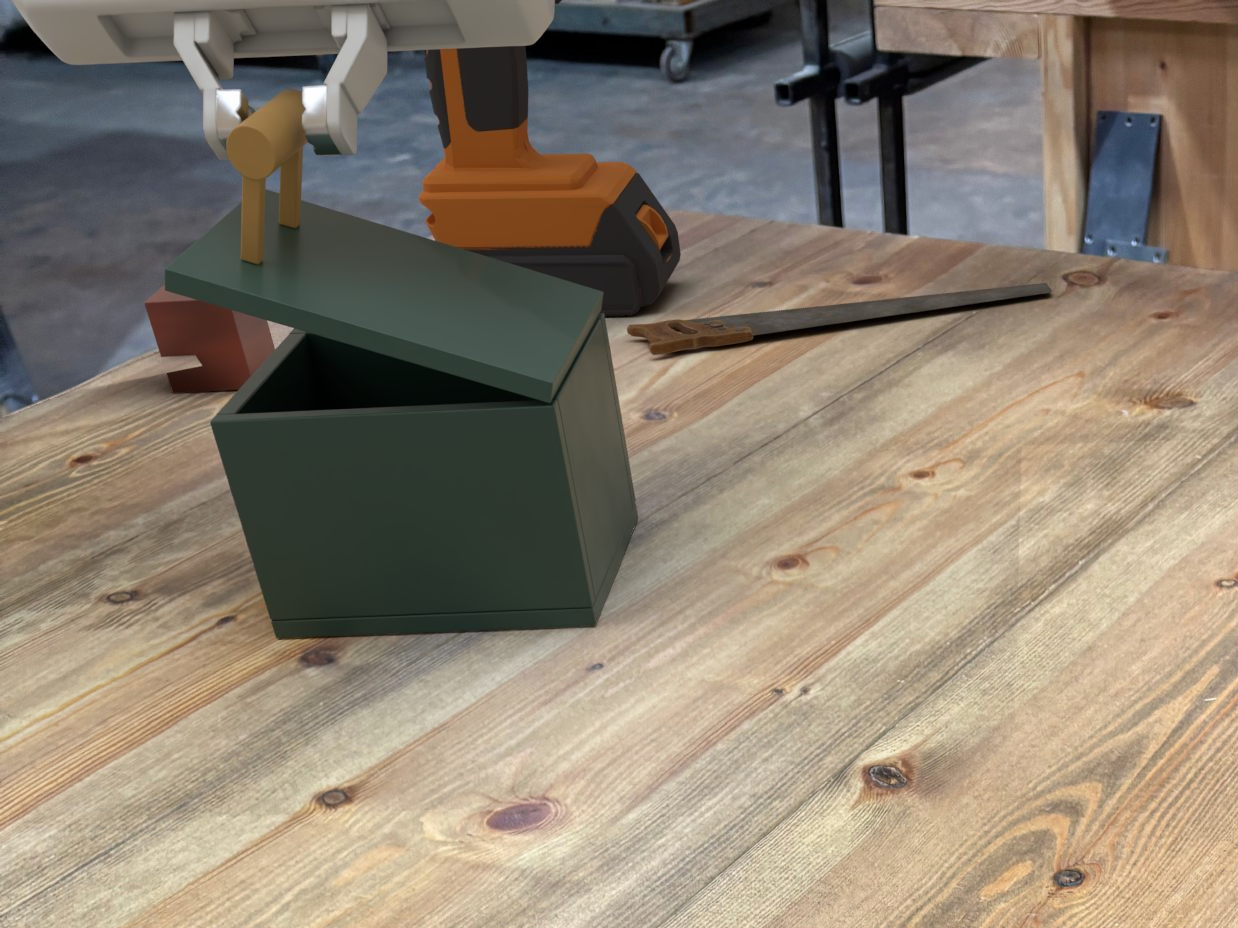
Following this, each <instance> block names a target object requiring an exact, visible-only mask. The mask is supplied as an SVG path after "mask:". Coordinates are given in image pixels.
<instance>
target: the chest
mask: <svg viewBox="0 0 1238 928" xmlns="http://www.w3.org/2000/svg"><path fill="white" fill-rule="evenodd" d="M606 321H607V320H606V316H605V315H604V313H599V315H598V317H597V319H596V320H595V322H594V324H593V326H592V328H591V330H590V331H589V333H588V335H587V337H586V339H585V341H584V342H583V344H582V346H581V348H580V350H579V351H578V353H577V355H576V357H575V359H574V361H573V362H572V364H571V366H570V368H569V370H568V372H567V373H566V375H565V377H564V379H563V381H562V383H561V384H560V386H559V388H558V390H557V392H556V393H555V395H554V397H553V399H552V401H551V403H547V402H544V401H541V400H537V399H534V398H530V397H527V396H524V395H520V394H517V393H513V392H510V391H506V390H503V389H500V388H496V387H493V386H489V385H486V384H483V383H479V382H476V381H472V380H469V379H465V378H462V377H459V376H455V375H452V374H448V373H445V372H442V371H438V370H435V369H431V368H428V367H424V366H421V365H418V364H414V363H411V362H407V361H404V360H401V359H397V358H394V357H390V356H387V355H384V354H380V353H377V352H373V351H370V350H366V349H363V348H360V347H356V346H353V345H349V344H346V343H343V342H339V341H336V340H332V339H329V338H325V337H322V336H319V335H315V334H312V333H308V332H305V331H302V330H298V329H295V328H292V330H291V331H290V332H289V333H288V335H286V336H285V338H284V339H283V340H282V341H281V342H280V344H278V345H277V346H276V348H275V350H274V351H273V352H272V354H271V355H270V356H269V357H268V358H267V359H266V360H265V361H264V362H263V364H262V365H261V366H260V367H259V368H258V369H257V370H256V371H255V372H254V373H253V375H252V376H251V377H250V378H249V379H248V380H247V381H246V382H245V383H244V385H243V386H242V387H241V388H240V389H239V390H236V392H235V393H234V394H233V396H231V397H230V399H229V400H228V401H227V402H226V403H225V404H224V406H222V408H220V410H219V411H218V412H217V413H216V415H214V417H213V418H212V419H211V420H210V421H209V424H210V427H211V431H212V434H213V437H214V440H215V443H216V447H217V450H218V453H219V456H220V457H219V458H220V460H221V463H222V468H223V470H224V473H225V476H226V480H227V482H228V486H229V489H230V493H231V495H232V499H233V502H234V506H235V509H236V512H237V515H238V519H239V522H240V526H241V529H242V531H243V536H244V538H245V541H246V545H247V548H248V552H249V555H250V559H251V562H252V565H253V569H254V571H255V574H256V577H257V581H258V585H259V587H260V588H259V589H260V591H261V594H262V597H263V599H264V600H263V601H264V604H265V607H266V610H267V614H268V616H269V619H270V621H271V622H270V623H271V627H272V629H273V633H274V636H275V639H297V638H299V639H300V638H321V637H322V638H323V637H324V638H325V637H326V638H327V637H349V636H371V635H373V636H375V635H399V634H425V633H449V632H452V633H453V632H473V631H474V632H475V631H503V630H527V629H552V628H553V629H554V628H575V627H576V628H578V627H595V626H596V625H597V622H598V620H599V617H600V615H601V614H602V611H603V608H604V605H605V602H606V600H607V597H608V595H609V592H610V590H611V588H612V585H613V583H614V580H615V578H616V576H617V573H618V570H619V568H620V565H621V564H622V560H623V558H624V555H625V553H626V550H627V548H628V545H629V543H628V542H630V540H631V538H630V536H631V537H632V535H631V533H632V530H633V528H634V526H635V527H636V525H637V523H636V521H637V522H638V520H637V518H638V519H639V514H638V507H637V503H636V501H637V500H636V494H635V488H634V483H633V476H632V471H631V465H630V458H629V453H628V448H627V447H628V446H627V441H626V434H625V428H624V423H623V417H622V412H621V404H620V398H619V392H618V387H617V380H616V375H615V368H614V364H613V357H612V356H613V355H612V351H611V345H610V339H609V334H608V333H609V332H608V327H607V322H606ZM635 524H636V525H635ZM634 529H635V528H634ZM633 531H634V530H633ZM632 534H633V533H632ZM626 547H627V548H626Z"/></svg>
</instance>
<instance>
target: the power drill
mask: <svg viewBox="0 0 1238 928" xmlns="http://www.w3.org/2000/svg"><path fill="white" fill-rule="evenodd" d="M562 1H563V0H555V5H559V4H560V3H561V2H562ZM425 51H426V56H425V57H424V59H423V60H424V66H425V75H426V79H427V80H429V85H430V89H429V91H428V93H429V95H430V96H429V97H430V102H431V106H432V111H433V115H435V116H436V118H437V121H438V125H437V129H438V132H439V137H440V140H441V144H442V149H443V155H444V157H443V159H442V160H441V161H440V162H438V163H437V164H436V165H435V166H434V167H433V169H432V170H431V171H430V172H429V173H428V174H427V175H426V176H425V177H424V178H423V180H422V191H421V192H420V193H419V195H418V201H419V204H420V205H421V206H423V207H425V208H426V209H427V210H429V211H430V212H431V213H430V214H429V215H428V216H427V217H426V219H425V220H424V222H425V224H426V226H427V227H428V230H429V231H430V234H431V235H432V237H433V240H434V241H438V242H441V243H444V244H448V245H451V246H454V247H457V248H461V249H464V250H467V251H471V252H474V253H477V254H481V255H484V256H487V257H490V258H494V259H497V260H500V261H504V262H507V263H510V264H513V265H517V266H520V267H523V268H527V269H530V270H533V271H537V272H540V273H543V274H546V275H550V276H553V277H556V278H560V279H563V280H566V281H569V282H573V283H576V284H579V285H583V286H586V287H589V288H593V289H596V290H599V291H602V292H603V300H602V308H601V311H600V313H604V315H605V317H632V316H633V315H635V314H637V313H638V312H639V311H640V309H641V307H646V306H651V305H652V304H653V303H655V301H656V300H658V298H659V296H660V294H661V293H662V291H663V289H664V288H665V286H666V285H667V283H668V281H669V279H670V278H671V276H672V274H673V273H674V271H675V269H676V268H677V265H678V264H679V263H680V260H681V253H682V252H681V247H680V238H679V232H678V229H677V226H676V224H675V223H674V221H673V220H672V218H671V217H670V215H669V214H668V213H667V211H666V210H665V209H664V207H663V205H662V204H661V202H660V201H659V200H658V199H657V197H656V195H654V193H653V191H652V190H651V188H650V186H648V183H646V181H645V180H644V179H643V177H642V175H641V174H640V173H639V172H638V171H637V170H636V169H635V168H634V167H633V166H631V164H628V163H625V162H623V161H597V159H596V158H595V157H594V155H592V154H590V153H540V152H538V151H537V150H536V149H535V148H534V147H533V145H532V144H531V142H530V139H529V134H528V129H529V126H528V125H529V77H528V75H529V74H528V59H527V50H526V46H502V47H479V48H456V49H433V50H425ZM625 315H627V316H625Z"/></svg>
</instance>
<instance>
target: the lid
mask: <svg viewBox="0 0 1238 928" xmlns="http://www.w3.org/2000/svg"><path fill="white" fill-rule="evenodd" d="M305 110H306V109H305V107H304V106H303V104H302V91H301V90H298V89H294V88H287V89H284V90H282V91H280V92H279V93H278V94H277V95H275V96H274V97H272V98H271V99H270V100H268V101H267V102H266V103H265V104H263V105H262V106H260V107H259V108H258V109H257V110H255V112H254V113H253V114H252V115H251V116H249V117H248V118H247V119H245V120H244V121H243V122H242V123H240V124H239V125H238V126H236V127H235V128H234V129H233V130H232V131H231V132H230V133H229V135H228V138H227V142H226V149H227V154H228V157H229V160H228V161H229V162H230V164H231V165H232V166H233V168H234V169H235V170H236V171H237V172H238V173H239V174H240V175H242V179H241V201H240V202H239V203H238V204H237V205H236V206H234V207H233V208H232V209H231V210H230V211H229V212H228V213H226V215H224V216H223V217H222V218H221V219H219V221H218V222H216V223H215V224H214V225H213V226H212V227H210V228H209V229H208V230H207V231H206V232H205V233H204V234H203V235H201V236H200V237H199V238H198V239H197V240H196V241H195V242H194V243H192V244H191V245H190V246H189V247H188V248H187V249H186V250H184V251H183V252H182V253H181V254H180V255H178V256H177V257H176V258H175V259H174V260H173V261H172V262H170V263H169V264H168V265H167V266H166V267H165V268H164V285H165V291H168V292H172V293H175V294H179V295H182V296H185V297H189V298H192V299H196V300H199V301H203V302H206V303H209V304H213V305H216V306H220V307H223V308H226V309H230V310H233V311H237V312H240V313H243V314H247V315H250V316H254V317H257V318H261V319H264V320H267V322H271V323H275V324H278V325H280V326H281V325H282V326H284V327H288V328H292V329H294V328H295V329H298V330H302V331H305V332H308V333H312V334H315V335H319V336H322V337H325V338H329V339H332V340H336V341H339V342H343V343H346V344H349V345H353V346H356V347H360V348H363V349H366V350H370V351H373V352H377V353H380V354H384V355H387V356H390V357H394V358H397V359H401V360H404V361H407V362H411V363H414V364H418V365H421V366H424V367H428V368H431V369H435V370H438V371H442V372H445V373H448V374H452V375H455V376H459V377H462V378H465V379H469V380H472V381H476V382H479V383H483V384H486V385H489V386H493V387H496V388H500V389H503V390H506V391H510V392H513V393H517V394H520V395H524V396H527V397H530V398H534V399H537V400H541V401H544V402H547V403H551V401H552V399H553V397H554V395H555V393H556V392H557V390H558V388H559V386H560V384H561V383H562V381H563V379H564V377H565V375H566V373H567V372H568V370H569V368H570V366H571V364H572V362H573V361H574V359H575V357H576V355H577V353H578V351H579V350H580V348H581V346H582V344H583V342H584V341H585V339H586V337H587V335H588V333H589V331H590V330H591V328H592V326H593V324H594V322H595V320H596V319H597V317H598V315H599V313H600V311H601V308H602V300H603V292H602V291H599V290H596V289H593V288H589V287H586V286H583V285H579V284H576V283H573V282H569V281H566V280H563V279H560V278H556V277H553V276H550V275H546V274H543V273H540V272H537V271H533V270H530V269H527V268H523V267H520V266H517V265H513V264H510V263H507V262H504V261H500V260H497V259H494V258H490V257H487V256H484V255H481V254H477V253H474V252H471V251H467V250H464V249H461V248H457V247H454V246H451V245H448V244H444V243H441V242H438V241H435V239H431V238H428V237H425V236H422V235H418V234H414V233H411V232H408V231H404V230H401V229H398V228H394V227H391V226H388V225H385V224H382V223H378V222H376V221H375V222H374V221H371V220H368V219H365V218H362V217H358V216H355V215H352V214H349V213H345V212H342V211H338V210H336V209H332V208H329V207H326V206H322V205H319V204H317V203H316V204H315V203H313V202H308V201H305V200H303V199H302V187H303V186H302V185H303V158H304V146H305V145H307V144H309V143H308V141H307V139H306V137H305V134H304V131H303V126H302V114H303V113H304V112H305ZM278 169H280V170H279V192H276V191H273V190H270V189H266V183H267V182H266V181H267V180H266V179H267V178H269V177H270V176H271V175H272V174H274V172H276V171H277V170H278Z"/></svg>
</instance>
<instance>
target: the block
mask: <svg viewBox="0 0 1238 928" xmlns="http://www.w3.org/2000/svg"><path fill="white" fill-rule="evenodd" d="M144 308H145V310H146V313H147V317H148V321H149V323H150V326H151V329H152V332H153V335H154V339H155V343H156V345H157V349H158V352H159V355H160V357H161V358H164V357H165V358H166V357H184V356H185V357H186V356H187V357H188V356H195V357H196V358H197V360H198V361H199V363H200V366H199V365H198V366H195V367H189V368H184V369H179V370H173V371H168V372H166V373H165V374H166V377H167V380H168V383H169V387H170V390H171V392H172V393H173V394H181V393H203V392H223V391H224V392H226V391H228V392H229V391H238V390H239V389H240V388H241V387H242V386H243V385H244V383H245V382H246V381H247V380H248V379H249V378H250V377H251V376H252V375H253V373H254V372H255V371H256V370H257V369H258V368H259V367H260V366H261V365H262V364H263V362H264V361H265V360H266V359H267V358H268V357H269V356H270V355H271V354H272V352H273V351H274V350H275V349H276V348H275V343H274V339H273V336H272V333H271V329H270V326H269V321H267V320H264V319H261V318H257V317H254V316H250V315H247V314H243V313H240V312H237V311H233V310H230V309H226V308H223V307H220V306H216V305H213V304H209V303H206V302H203V301H199V300H196V299H192V298H189V297H185V296H182V295H179V294H175V293H172V292H168V291H165V284H163V285H162V286H161V287H159V289H158V290H157V291H155V292H154V293H153V294H152V295H151V296H150V297H149V298H147V300H145V301H144Z"/></svg>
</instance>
